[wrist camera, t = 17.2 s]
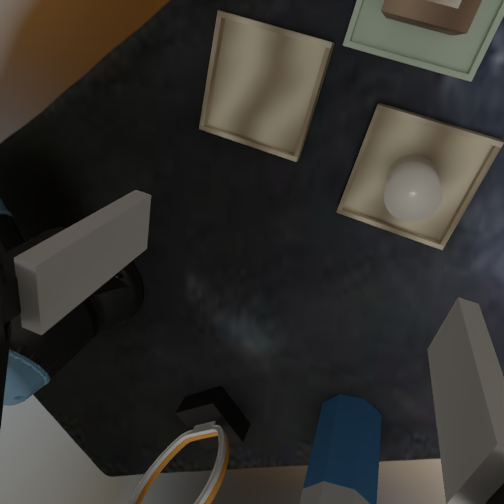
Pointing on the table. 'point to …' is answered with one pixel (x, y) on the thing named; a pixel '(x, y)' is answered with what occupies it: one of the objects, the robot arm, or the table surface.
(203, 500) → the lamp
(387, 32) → the tray
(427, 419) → the table surface
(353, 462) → the water bottle
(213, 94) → the tray
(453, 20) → the letter block
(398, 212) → the white dome
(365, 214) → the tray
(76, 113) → the table surface
